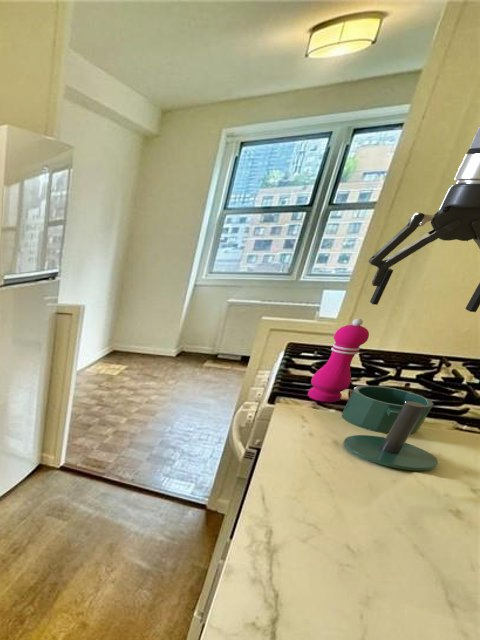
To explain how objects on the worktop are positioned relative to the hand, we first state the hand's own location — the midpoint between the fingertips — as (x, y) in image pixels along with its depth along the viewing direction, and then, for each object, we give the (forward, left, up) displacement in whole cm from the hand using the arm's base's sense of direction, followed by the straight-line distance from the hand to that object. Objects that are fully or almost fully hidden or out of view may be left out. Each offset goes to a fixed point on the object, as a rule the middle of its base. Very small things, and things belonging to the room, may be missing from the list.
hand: (420, 307), depth 94 cm
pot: (-4, -7, -27) cm, 28 cm away
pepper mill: (+5, -18, -27) cm, 33 cm away
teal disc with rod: (-3, +12, -26) cm, 29 cm away
